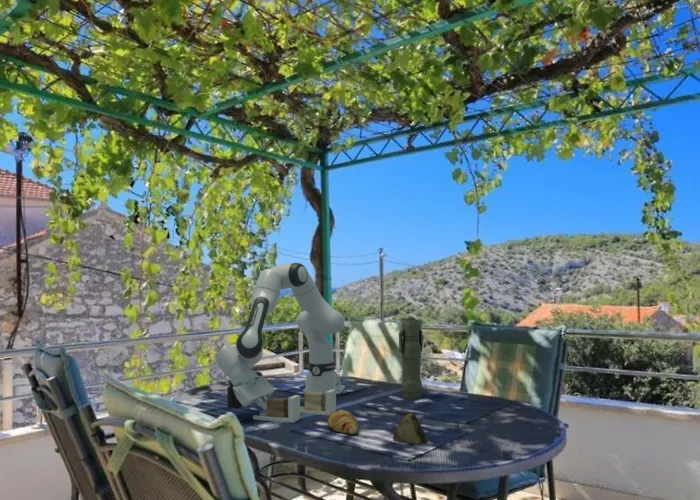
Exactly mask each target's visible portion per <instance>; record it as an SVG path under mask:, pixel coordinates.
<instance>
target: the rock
mask: <svg viewBox="0 0 700 500" xmlns="http://www.w3.org/2000/svg"><path fill="white" fill-rule="evenodd" d="M420 422H421V421H419V419H418V417H417V416H416V415H415V413H412V412H409V413H408V414H406V415H405V416H404V417H403V419H402V420H401V421H400V423H399V424H398V425H397V427H396V428H395V431H394V433H393V436H392V440H393V441H396V442H402V443H408V444H416V445H422V444H427V443H429V441H428V437H427V435H426V432H425V430H424V429H423V426H422V424H421V423H420ZM426 442H427V443H426Z"/></svg>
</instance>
